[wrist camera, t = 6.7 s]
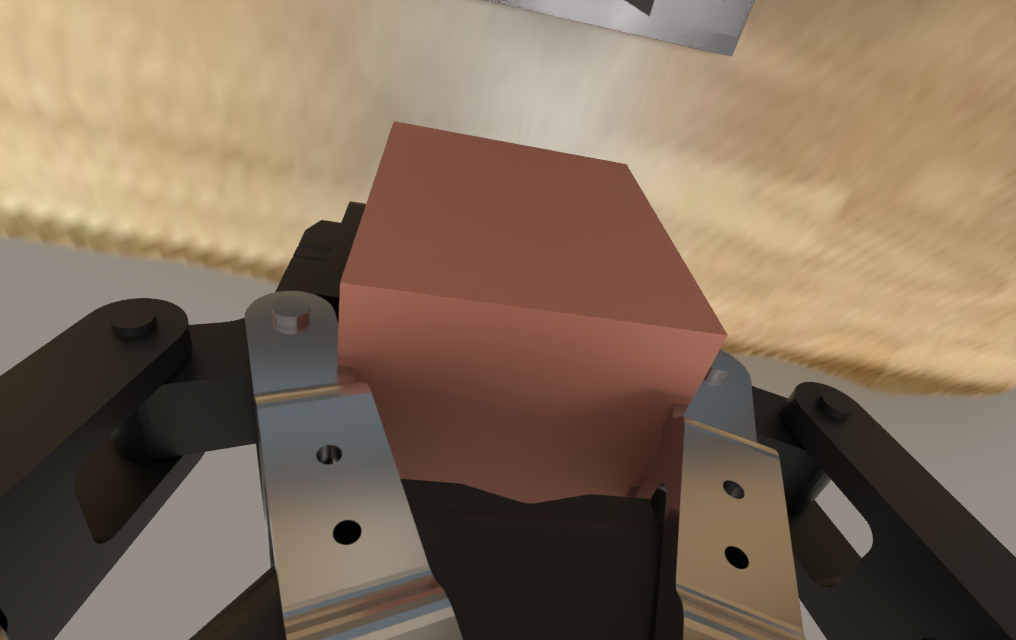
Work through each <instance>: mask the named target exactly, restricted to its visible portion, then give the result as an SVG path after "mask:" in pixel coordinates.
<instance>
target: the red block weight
mask: <svg viewBox="0 0 1016 640" xmlns="http://www.w3.org/2000/svg"><path fill="white" fill-rule="evenodd" d="M727 336H728V335H727V333H726V332H725V330H724V328H723V327H722V325H721V323H720V322H719V320H718V318H717V316H716V315H715V313H714V311H713V310H712V308H711V306H710V305H709V303H708V301H707V300H706V298H705V296H704V295H703V293H702V291H701V290H700V288H699V286H698V284H697V283H696V281H695V279H694V278H693V276H692V274H691V273H690V271H689V269H688V268H687V266H686V264H685V263H684V261H683V259H682V257H681V256H680V254H679V252H678V251H677V249H676V247H675V246H674V244H673V242H672V241H671V239H670V237H669V236H668V234H667V232H666V230H665V229H664V227H663V225H662V224H661V222H660V220H659V219H658V217H657V215H656V214H655V212H654V210H653V209H652V207H651V205H650V203H649V202H648V200H647V198H646V197H645V195H644V193H643V192H642V190H641V188H640V187H639V185H638V183H637V182H636V180H635V178H634V176H633V175H632V173H631V171H630V170H629V168H628V166H627V165H626V164H622V163H616V162H611V161H605V160H600V159H595V158H589V157H584V156H578V155H573V154H568V153H562V152H557V151H551V150H546V149H540V148H535V147H530V146H524V145H519V144H513V143H508V142H503V141H497V140H492V139H486V138H481V137H476V136H470V135H465V134H459V133H454V132H449V131H443V130H438V129H432V128H427V127H422V126H416V125H411V124H405V123H400V122H394V123H393V126H392V129H391V132H390V135H389V138H388V141H387V144H386V147H385V150H384V153H383V156H382V159H381V162H380V165H379V168H378V171H377V174H376V177H375V180H374V183H373V186H372V189H371V192H370V195H369V198H368V201H367V204H366V207H365V210H364V213H363V216H362V219H361V222H360V225H359V228H358V231H357V234H356V237H355V239H354V242H353V245H352V248H351V251H350V254H349V257H348V260H347V263H346V266H345V269H344V272H343V275H342V278H341V281H340V299H339V327H338V355H337V365H341V366H350V367H352V369H353V372H354V375H355V379H356V382H362V381H366V382H367V383H368V385H369V387H370V389H371V392H372V395H373V398H374V401H375V404H376V407H377V410H378V413H379V416H380V419H381V422H382V425H383V428H384V431H385V434H386V437H387V440H388V443H389V446H390V450H391V453H392V456H393V459H394V462H395V465H396V468H397V471H398V474H399V477H400V479H412V480H424V481H436V482H449V483H461V484H464V485H467V486H471V487H474V488H477V489H481V490H484V491H487V492H490V493H494V494H497V495H500V496H503V497H507V498H510V499H513V500H516V501H520V502H524V503H539V502H545V501H551V500H557V499H563V498H569V497H575V496H581V495H588V494H596V495H609V496H621V497H625V495H626V493H627V491H628V490H629V488H630V486H632V487H641V485H642V484H643V482H644V480H645V478H646V476H647V474H648V473H649V471H650V469H651V467H652V465H653V463H654V461H655V459H656V456H657V453H658V450H659V447H660V443H661V437H662V428H663V423H664V421H665V419H666V417H667V415H668V414H669V412H670V410H671V408H672V406H673V404H674V403H679V404H688V405H690V403H691V401H692V399H693V398H694V396H695V394H696V392H697V390H698V388H699V387H700V385H701V383H702V381H703V379H704V378H705V376H706V374H707V372H708V370H709V368H710V367H711V365H712V363H713V361H714V359H715V358H716V356H717V354H718V352H719V350H720V348H721V347H722V345H723V343H724V341H725V339H726V338H727Z"/></svg>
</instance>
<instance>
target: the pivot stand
mask: <svg viewBox="0 0 1016 640" xmlns="http://www.w3.org/2000/svg"><path fill="white" fill-rule="evenodd" d="M487 1H492V2H496V3H500V4H505V5H509V6H513V7H518V8H522V9H526V10H531V11H535V12H540V13H544V14H548V15H553V16H557V17H561V18H566V19H570V20H574V21H579V22H583V23H588V24H592V25H596V26H601V27H605V28H609V29H614V30H618V31H623V32H627V33H631V34H636V35H640V36H644V37H649V38H653V39H657V40H662V41H666V42H671V43H675V44H679V45H684V46H688V47H692V48H697V49H701V50H705V51H710V52H714V53H719V54H723V55H727V56H732V54H733V52H734V50H735V47H736V45H737V42H738V40H739V37H740V35H741V32H742V30H743V28H744V25H745V23H746V20H747V18H748V15H749V13H750V11H751V8H752V6H753V3H754V1H755V0H487Z"/></svg>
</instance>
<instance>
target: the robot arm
mask: <svg viewBox="0 0 1016 640" xmlns="http://www.w3.org/2000/svg"><path fill="white" fill-rule="evenodd" d="M365 207H366V204H364V203H358V202H351V201H350V202H349V204H348V207H347V210H346V212H345V215H344V217H343V220H342V222H341V223H338V222H331V221H325V220H321V221H319V222H318V223H316V224H315V225H313V226H311V227H310V228H308V229H307V230H305V232H304V234H303V236H302V238H301V240H300V243H299V247H297V249H296V251H295V253H294V255H293V258H292V259H291V261H290V263H289V265H288V267H287V269H286V271H285V273H284V275H283V277H282V279H281V281H280V283H279V285H278V287H277V290H276V292H275V293H271V294H268V295H265V296H263V297H261V298H258V299H257V300H255V301H254V302H253V303H252V304H251V305H250V306H249V307H248V308H247V310H246V313H245V318H243V319H239V320H235V321H230V322H223V323H209V324H197V325H189V324H188V318H187V315H186V313H185V312H184V311H183V310H182V309H181V308H180V307H179V306H177V305H175V304H173V303H170V302H167V301H164V300H159V299H151V298H137V299H127V300H122V301H118V302H113V303H110V304H108V305H105V306H103V307H101V308H98V309H96V310H94V311H93V312H92V313H90V314H88V315H87V316H85V317H84V318H83V319H81V320H80V321H78V322H77V323H75V324H74V325H73V326H71V327H70V328H68V329H67V330H65V331H64V332H63V333H61V334H60V335H58V336H57V337H55V338H54V339H53V340H51V341H50V342H49V343H47V344H45V345H44V346H43V347H41V348H40V349H38V350H37V351H36V352H34V353H33V354H31V355H30V356H28V357H27V358H25V359H24V360H23V361H21V362H20V363H18V364H17V365H15V366H14V367H13V368H11V369H10V370H8V371H7V372H6V373H4V374H3V375H1V376H0V640H54V639H55V637H56V636H57V635H58V634H59V632H60V631H61V630H62V629H63V627H64V626H65V625H66V624H67V623H68V621H69V620H70V619H71V618H72V616H73V615H74V614H75V613H76V612H77V610H78V609H79V608H80V606H81V605H82V604H83V603H84V602H85V601H86V599H87V598H88V597H89V596H90V594H91V593H92V592H93V591H94V589H95V588H96V587H97V585H99V583H100V582H101V581H102V580H103V578H104V577H105V576H106V575H107V574H108V572H109V571H110V570H111V569H112V567H113V566H114V565H115V564H116V562H117V561H118V560H119V559H120V558H121V556H122V555H123V554H124V553H125V551H126V550H127V549H128V548H129V546H130V545H131V544H132V543H133V541H134V540H135V539H136V538H137V537H138V535H139V534H140V533H141V532H142V530H143V529H144V528H145V527H146V526H147V524H148V523H149V522H150V521H151V519H152V518H153V517H154V516H155V515H156V513H157V512H158V511H159V510H160V508H161V507H162V506H163V505H164V503H165V502H166V501H167V500H168V498H169V497H170V496H171V495H172V494H173V492H174V491H175V490H176V489H177V488H178V486H179V485H180V484H181V482H182V481H183V480H184V479H185V478H186V476H187V475H188V474H189V473H190V472H191V470H192V469H193V468H194V466H195V465H196V464H197V463H198V462H199V460H200V459H201V458H202V456H203V455H204V453H205V452H206V451H212V450H218V449H225V448H231V447H237V446H243V445H249V444H255V443H256V450H257V459H258V467H259V476H260V485H261V493H262V502H263V511H264V520H265V529H266V539H267V549H268V559H269V570H268V571H267V572H265V573H264V574H263V575H262V576H261V577H260V578H259V579H258V580H256V581H255V582H254V583H253V584H252V585H251V586H249V587H248V588H247V589H246V590H245V591H244V592H243V593H241V594H240V595H239V596H238V597H237V598H236V599H235V600H233V601H232V602H231V603H230V604H229V605H228V606H227V607H225V608H224V609H223V610H222V611H221V612H220V613H219V614H217V615H216V616H215V617H214V618H213V619H212V620H211V621H209V622H208V623H207V624H206V625H205V626H204V627H203V628H202V629H201V630H199V631H198V632H197V633H196V634H195V635H194V636H192V637H191V638H190V639H189V640H806V639H805V636H804V631H803V624H802V617H801V610H800V603H799V599H800V600H801V602H802V603H803V605H804V606H805V608H806V609H807V611H808V612H809V613H810V615H811V616H812V618H813V619H814V621H815V622H816V624H817V625H818V627H819V628H820V630H821V631H822V633H823V634H824V636H825V637H826V638H827V640H1016V557H1015V556H1014V555H1013V554H1012V553H1011V552H1010V551H1008V549H1006V548H1005V547H1004V546H1003V545H1002V544H1001V543H1000V542H999V541H998V540H997V539H996V538H995V537H994V536H993V535H992V534H991V533H990V532H989V531H988V530H987V529H986V528H985V527H984V526H983V525H982V524H981V523H980V522H979V521H978V520H977V519H976V518H975V517H974V516H972V514H971V513H970V512H968V510H967V509H965V507H963V506H962V505H961V504H960V503H959V502H958V501H957V500H956V499H955V498H954V497H953V496H952V495H951V494H950V493H949V492H948V491H947V490H946V489H945V488H944V487H943V486H942V485H941V484H940V483H939V482H938V481H937V480H936V479H935V478H934V477H933V476H932V475H931V474H930V473H928V471H927V470H926V469H925V468H924V467H923V466H922V465H920V464H919V463H918V462H917V461H916V460H915V459H914V458H913V457H912V456H911V455H910V454H909V453H908V452H907V451H906V450H905V449H904V448H903V447H902V446H901V445H900V444H899V443H898V442H897V441H896V440H895V439H894V438H893V437H892V436H891V435H890V434H889V433H887V431H886V430H885V429H884V428H882V427H881V425H880V424H878V423H877V422H876V421H875V420H874V419H873V418H872V417H871V416H870V415H869V414H868V413H867V412H866V411H865V410H864V409H863V408H862V407H861V406H860V405H859V404H858V403H857V402H856V401H854V400H853V399H852V398H850V397H849V396H847V395H846V394H844V393H842V392H840V391H839V390H837V389H835V388H832V387H830V386H827V385H824V384H820V383H815V382H804V383H801V384H799V385H798V386H797V387H796V388H795V389H794V391H793V392H792V394H791V395H790V397H789V398H785V397H782V396H779V395H776V394H774V393H771V392H768V391H765V390H762V389H759V388H756V387H754V386H752V385H751V379H750V375H749V373H748V372H747V370H746V369H745V367H744V366H743V365H742V364H741V363H740V362H739V361H737V359H735V358H734V357H732V356H731V355H729V354H728V353H726V352H724V351H722V350H719V352H718V354H717V356H716V358H715V359H714V361H713V363H712V365H711V367H710V368H709V370H708V372H707V374H706V376H705V378H704V379H703V381H702V383H701V385H700V387H699V388H698V390H697V392H696V394H695V396H694V398H693V399H692V401H691V403H690V405H688V404H679V403H674V404H673V406H672V408H671V410H670V412H669V414H668V415H667V417H666V419H665V421H664V423H663V428H662V437H661V443H660V447H659V450H658V453H657V456H656V459H655V461H654V463H653V465H652V467H651V469H650V471H649V473H648V474H647V476H646V478H645V480H644V482H643V484H642V485H641V487H632V486H630V488H629V490H628V491H627V493H626V495H625V497H621V496H609V495H596V494H588V495H581V496H575V497H569V498H563V499H557V500H551V501H545V502H539V503H524V502H520V501H516V500H513V499H510V498H507V497H503V496H500V495H497V494H494V493H490V492H487V491H484V490H481V489H477V488H474V487H471V486H467V485H464V484H461V483H449V482H436V481H424V480H412V479H400V477H399V474H398V471H397V468H396V465H395V462H394V459H393V456H392V453H391V450H390V446H389V443H388V440H387V437H386V434H385V431H384V428H383V425H382V422H381V419H380V416H379V413H378V410H377V407H376V404H375V401H374V398H373V395H372V392H371V389H370V387H369V385H368V383H367V382H366V381H362V382H356V379H355V375H354V372H353V369H352V367H350V366H341V365H337V355H338V327H339V299H340V281H341V278H342V275H343V272H344V269H345V266H346V263H347V260H348V257H349V254H350V251H351V248H352V245H353V242H354V239H355V237H356V234H357V231H358V228H359V225H360V222H361V219H362V216H363V213H364V210H365ZM831 480H832V481H833V482H834V483H835V484H836V485H837V487H838V488H839V489H840V490H841V491H842V492H843V494H844V495H845V496H846V497H847V498H848V499H849V501H850V502H851V503H852V504H853V505H854V506H855V508H856V509H857V510H858V511H859V512H860V513H861V515H862V516H863V517H864V518H865V520H866V521H867V522H868V524H869V526H870V528H871V531H872V535H873V544H872V547H871V549H870V551H869V552H868V553H867V554H866V555H865V556H864V557H863V558H861V557H860V556H859V555H858V553H857V552H856V551H855V550H854V548H853V547H852V546H851V545H850V543H849V542H848V541H847V540H846V538H845V537H844V536H843V535H842V534H841V532H840V531H839V530H838V529H837V527H836V526H835V525H834V524H833V522H832V521H831V520H830V519H829V517H828V516H827V515H826V514H825V513H824V511H823V510H822V509H821V507H820V506H819V505H818V504H817V502H816V501H815V499H816V497H817V496H818V495H819V494H820V492H821V491H822V490H823V489H824V488H825V487H826V485H827V484H828V483H829V482H830V481H831Z"/></svg>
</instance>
